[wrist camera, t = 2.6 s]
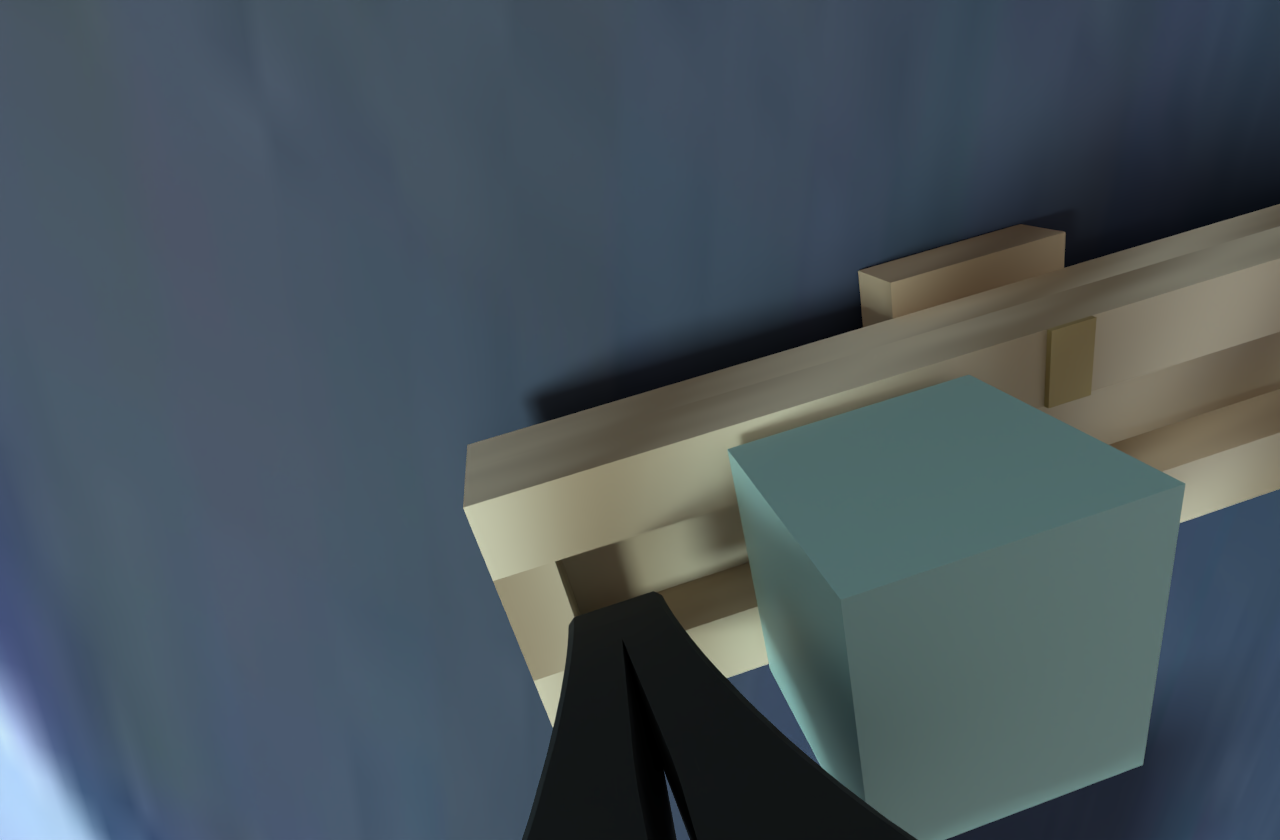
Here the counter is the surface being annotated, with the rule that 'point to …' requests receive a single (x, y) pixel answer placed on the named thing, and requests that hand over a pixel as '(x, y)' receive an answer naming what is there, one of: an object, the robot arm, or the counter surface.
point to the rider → (959, 599)
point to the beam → (874, 372)
